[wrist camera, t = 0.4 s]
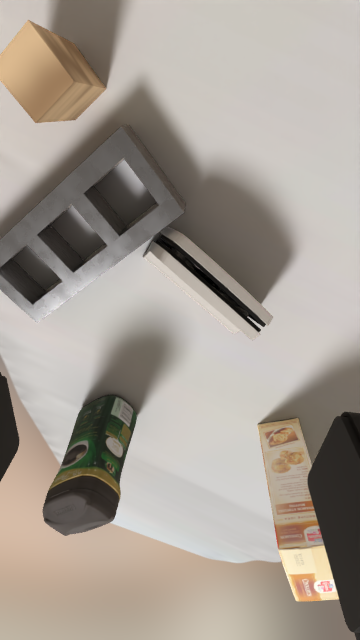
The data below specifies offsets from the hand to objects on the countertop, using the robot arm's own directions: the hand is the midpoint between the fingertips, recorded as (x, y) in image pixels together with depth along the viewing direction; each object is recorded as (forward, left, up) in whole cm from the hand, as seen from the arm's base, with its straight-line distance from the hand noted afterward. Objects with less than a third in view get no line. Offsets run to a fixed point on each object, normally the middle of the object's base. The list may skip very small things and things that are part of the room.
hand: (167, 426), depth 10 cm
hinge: (+9, -5, -35) cm, 36 cm away
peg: (-16, -4, -34) cm, 38 cm away
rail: (-5, -14, -34) cm, 37 cm away
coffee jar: (+20, -33, -34) cm, 52 cm away
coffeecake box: (+44, -13, -34) cm, 58 cm away
